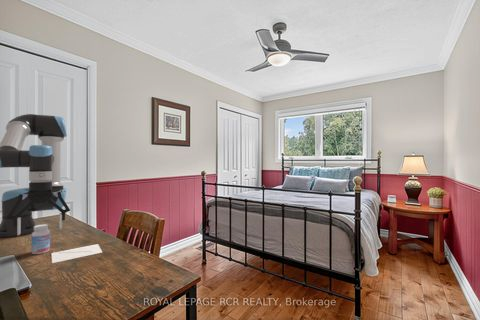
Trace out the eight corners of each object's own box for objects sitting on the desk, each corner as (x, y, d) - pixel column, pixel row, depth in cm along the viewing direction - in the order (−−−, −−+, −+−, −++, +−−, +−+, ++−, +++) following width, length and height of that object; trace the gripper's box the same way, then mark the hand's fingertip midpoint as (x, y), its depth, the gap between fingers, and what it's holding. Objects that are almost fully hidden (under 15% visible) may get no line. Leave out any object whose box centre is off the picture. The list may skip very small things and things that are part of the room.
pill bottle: (39, 255, 98) (39, 228, 98) (27, 254, 99) (27, 227, 99) (53, 249, 104) (53, 224, 104) (42, 248, 105) (42, 223, 105)
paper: (51, 253, 100) (51, 252, 100) (97, 244, 111) (97, 243, 111) (52, 263, 90) (52, 263, 90) (102, 252, 101) (102, 252, 101)
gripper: (-3, 183, 90) (-3, 239, 90) (77, 180, 106) (76, 227, 106) (0, 182, 96) (0, 234, 96) (75, 179, 112) (75, 224, 112)
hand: (40, 231), depth 101 cm, fingers open, 13 cm apart
